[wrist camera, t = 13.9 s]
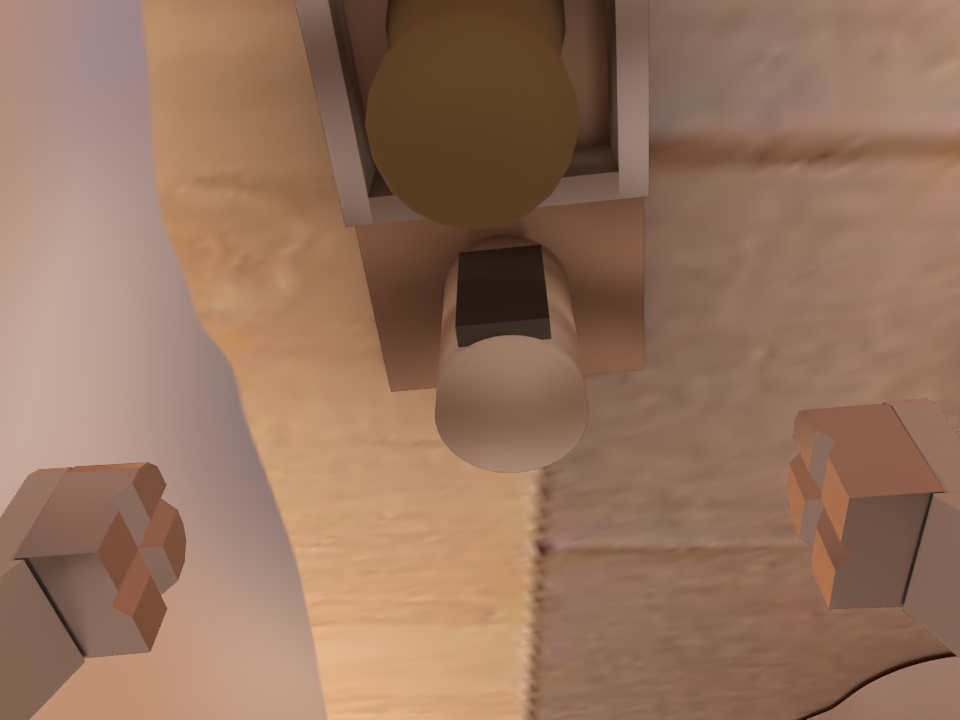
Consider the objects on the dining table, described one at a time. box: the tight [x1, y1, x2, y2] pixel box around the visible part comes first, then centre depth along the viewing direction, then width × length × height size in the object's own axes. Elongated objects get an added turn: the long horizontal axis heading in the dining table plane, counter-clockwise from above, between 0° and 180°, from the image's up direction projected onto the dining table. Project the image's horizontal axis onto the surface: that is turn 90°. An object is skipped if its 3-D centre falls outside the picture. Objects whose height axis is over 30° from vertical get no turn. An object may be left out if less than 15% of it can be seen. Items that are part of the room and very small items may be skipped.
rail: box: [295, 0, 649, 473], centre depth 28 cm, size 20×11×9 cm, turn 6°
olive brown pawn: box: [365, 0, 579, 230], centre depth 24 cm, size 6×6×11 cm
